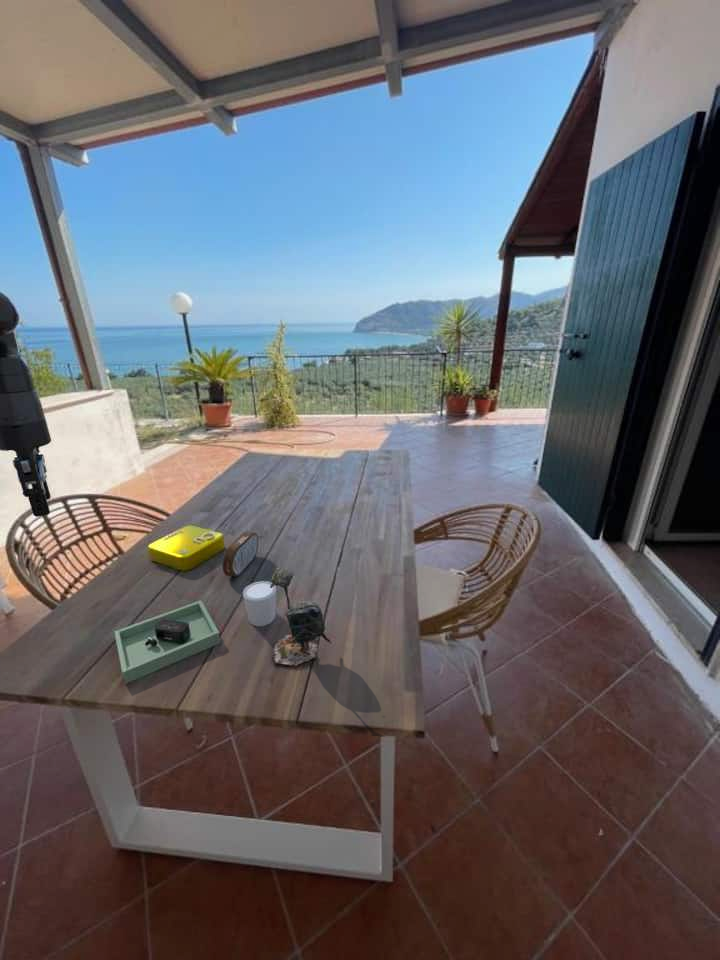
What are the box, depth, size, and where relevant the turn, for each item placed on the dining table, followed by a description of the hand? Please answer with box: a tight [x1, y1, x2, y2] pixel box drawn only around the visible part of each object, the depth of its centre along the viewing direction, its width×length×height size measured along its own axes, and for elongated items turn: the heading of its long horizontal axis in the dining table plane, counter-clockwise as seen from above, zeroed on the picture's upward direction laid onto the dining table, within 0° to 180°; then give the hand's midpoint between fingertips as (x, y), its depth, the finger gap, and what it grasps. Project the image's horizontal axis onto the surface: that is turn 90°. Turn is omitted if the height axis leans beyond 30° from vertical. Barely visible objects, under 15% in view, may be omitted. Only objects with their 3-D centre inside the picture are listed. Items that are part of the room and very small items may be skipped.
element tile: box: [147, 524, 226, 572], centre depth 109 cm, size 15×15×5 cm
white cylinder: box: [242, 580, 277, 627], centre depth 83 cm, size 7×7×7 cm
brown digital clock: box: [222, 530, 259, 577], centre depth 102 cm, size 15×3×8 cm, turn 168°
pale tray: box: [114, 600, 221, 685], centre depth 77 cm, size 17×13×3 cm
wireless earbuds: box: [145, 619, 191, 646], centre depth 76 cm, size 5×7×3 cm, turn 78°
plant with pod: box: [270, 566, 332, 667], centre depth 71 cm, size 8×11×20 cm
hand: (43, 507), depth 71 cm, fingers open, 8 cm apart
